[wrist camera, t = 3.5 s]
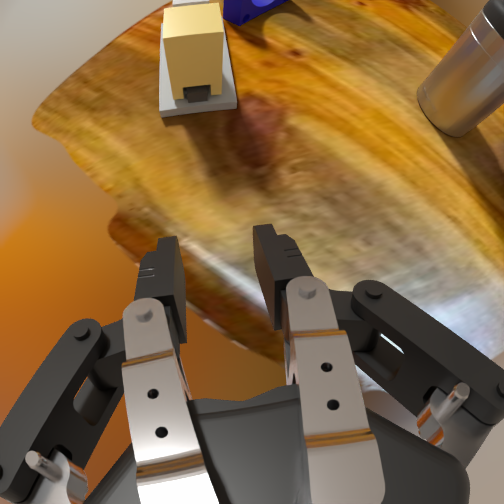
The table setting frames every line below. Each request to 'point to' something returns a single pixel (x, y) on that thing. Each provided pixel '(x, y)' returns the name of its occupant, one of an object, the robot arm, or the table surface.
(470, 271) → the table surface
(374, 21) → the table surface
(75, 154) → the table surface
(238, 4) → the blue stepped block
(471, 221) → the table surface
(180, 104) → the comb board
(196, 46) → the pale yellow block
